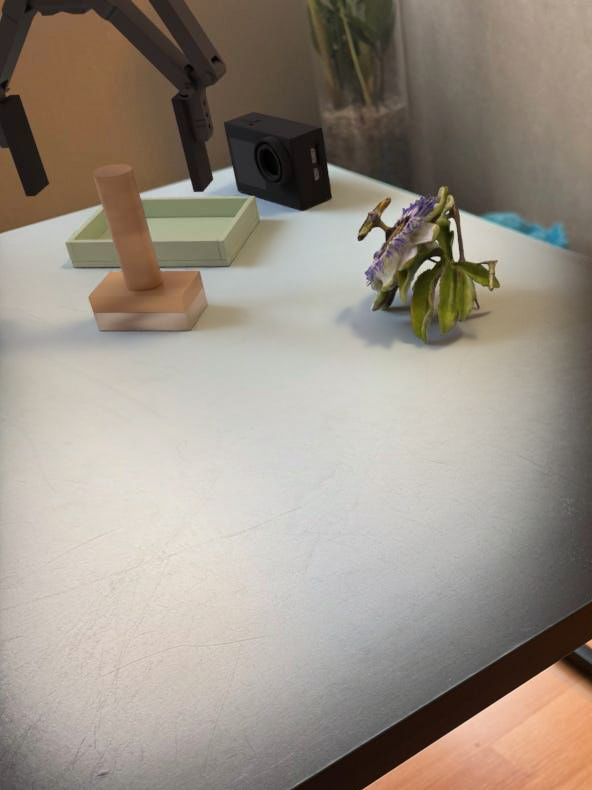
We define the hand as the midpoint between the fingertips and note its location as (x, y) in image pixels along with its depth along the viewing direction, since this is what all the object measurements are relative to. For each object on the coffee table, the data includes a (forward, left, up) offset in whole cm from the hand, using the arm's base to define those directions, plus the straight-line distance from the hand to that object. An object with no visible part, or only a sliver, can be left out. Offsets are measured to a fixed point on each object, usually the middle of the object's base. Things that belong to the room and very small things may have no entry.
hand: (120, 188), depth 79 cm
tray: (-4, +16, -11) cm, 20 cm away
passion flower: (+24, +1, -11) cm, 26 cm away
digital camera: (+4, +28, -11) cm, 30 cm away
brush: (0, 0, -11) cm, 11 cm away
